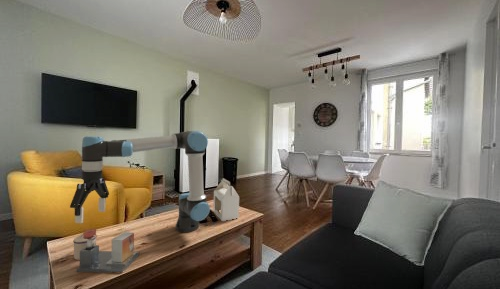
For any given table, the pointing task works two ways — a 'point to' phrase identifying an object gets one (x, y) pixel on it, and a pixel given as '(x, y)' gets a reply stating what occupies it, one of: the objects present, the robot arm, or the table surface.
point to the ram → (89, 237)
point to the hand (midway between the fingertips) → (91, 216)
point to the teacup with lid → (81, 245)
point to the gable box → (226, 201)
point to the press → (102, 261)
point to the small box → (122, 247)
